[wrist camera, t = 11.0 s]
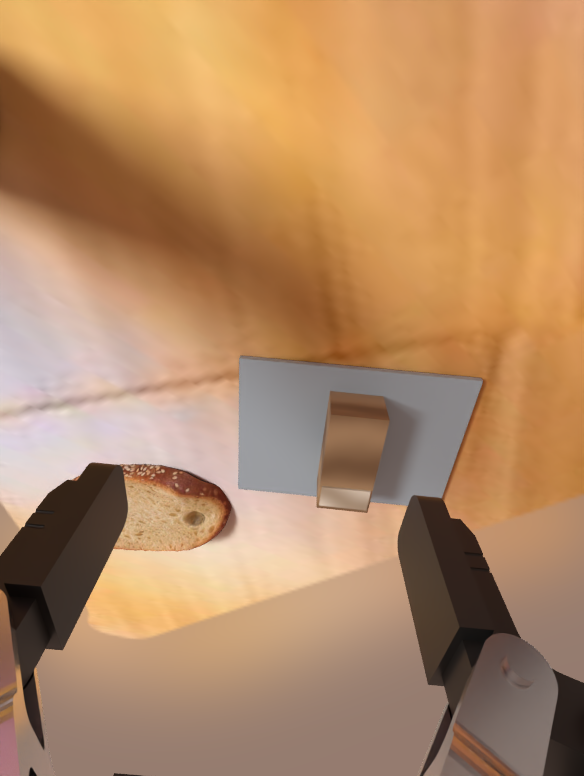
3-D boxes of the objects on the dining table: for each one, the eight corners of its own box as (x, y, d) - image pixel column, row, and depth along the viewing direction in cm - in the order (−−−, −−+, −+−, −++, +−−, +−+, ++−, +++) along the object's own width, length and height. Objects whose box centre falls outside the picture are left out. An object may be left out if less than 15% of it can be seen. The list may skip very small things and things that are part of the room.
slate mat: (239, 484, 45) (238, 488, 44) (240, 355, 37) (239, 358, 36) (436, 504, 45) (437, 508, 44) (480, 377, 37) (483, 381, 36)
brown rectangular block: (329, 390, 38) (330, 415, 34) (383, 396, 37) (390, 421, 34) (316, 479, 43) (316, 508, 39) (363, 484, 43) (367, 514, 39)
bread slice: (47, 513, 50) (28, 538, 47) (101, 418, 42) (83, 440, 39) (174, 574, 54) (165, 600, 51) (245, 498, 46) (239, 524, 43)
